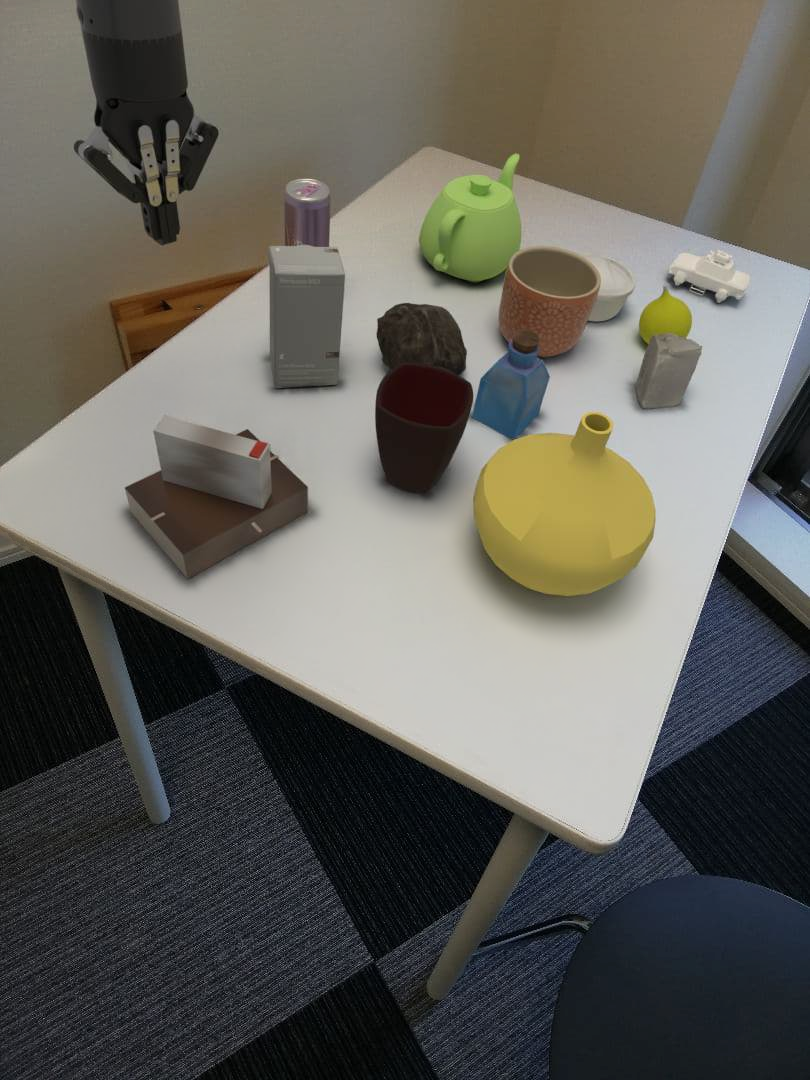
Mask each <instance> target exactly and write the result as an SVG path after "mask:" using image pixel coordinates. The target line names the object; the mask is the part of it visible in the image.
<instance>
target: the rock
mask: <svg viewBox="0 0 810 1080" xmlns="http://www.w3.org/2000/svg"><path fill="white" fill-rule="evenodd" d="M376 321H377V328H376V340H377V343H378V346H379V350H380V353H381V361H382V363H383V365H385V366H386V367H387V368H388V369H390V370H392V369H393V368H395V367H396V366H398V365H399V364H401V363H418V364H425V365H430V366H437V367H444V368H446V369H448V370H450V371H451V372H453V373H454V374H456V375H458V376H460V375H461V374H462V373H463V372H465V371H466V369H467V356H468V350H467V348H466V346H465V343H464V339H463V335H462V331H461V327H460V326H459V324H458V322H457V321H456V319H455V318H454V317H453V316H452V314H451V313H450V311H449V310H447V309H446V308H445V307H443V306H439V305H433V304H428V303H421V304H418V303H411V302H402V303H397V304H394V305H393V306H391V308H389V309H388V310H386V311H385V312H384V314H383V315H382V316H381V317H377V320H376Z"/></svg>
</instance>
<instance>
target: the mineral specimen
mask: <svg viewBox="0 0 810 1080" xmlns="http://www.w3.org/2000/svg"><path fill="white" fill-rule="evenodd" d="M702 350H703V346H702V345H700V344H699V343H697V342H696V341H694V340H693V339H691V338H689V339H688V338H687V337H686V338H681V337H679V336H677V335H675V334H673V333H668V334H664V333H662V334H661V335H652V337H651V339H650V342H649V344H648V343H647V346H646V348H645V350H644V355H643V359H642V361H641V365H640V367H639V368H640V369H639V372H638V375H637V377H636V380H635V384H634V387H635V390H636V391H635V393H636V395H637V399H638V403H639V405H640V407H641V408H642V409H646V410H647V409H649V410H650V409H658V408H660V409H663V408H665V407H667V408H668V407H677V406H679V405H680V404H681V402H682V400H683V397H684V395H685V394H686V390H687V389H688V386H689V384H690V382H691V380H692V377H693V375H694V373H695V371H696V369H697V365H698V363H699V359H700V357H701V355H702Z"/></svg>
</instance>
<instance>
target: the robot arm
mask: <svg viewBox="0 0 810 1080" xmlns="http://www.w3.org/2000/svg"><path fill="white" fill-rule="evenodd" d="M75 4H76V5H75V6H76V8H75V12H76V16H77V19H78V21H79V23H80V29H81V35H82V40H83V44H84V50H85V54H86V61H87V66H88V71H89V75H90V81H91V86H92V89H93V93H94V96H95V100H96V101H95V109H94V114H93V115H94V116H93V122H94V125H95V128H93V130H92V131H91V133H90V134H89V135H88V137H87V138H86V139H85V140H83V139H78V140H76V141H75V142H74V144H73V151H74V152H75V154H76V155H77V156H78V157H79V158H80V159H82V160H83V161H84V162H85V163H86V164H87V165H88V166H89V167H90V168H91V169H92V170H93V171H94V172H96V173H97V174H98V175H99V176H100V177H101V178H102V179H103V180H104V181H105V182H106V183H107V184H108V185H109V186H110V187H111V188H112V189H114V190H115V191H116V192H117V193H118V194H120V195H121V196H122V197H124V198H125V199H127V200H128V201H130V202H131V203H133V204H140V209H141V210H140V211H141V217H142V221H143V226H144V232H145V233H146V235H147V236H148V237H150V238H151V239H152V240H153V241H154V242H156V243H157V244H158V245H160V246H166V245H169V244H172V243H176V242H177V241H178V237H177V235H180V230H181V226H180V218H179V210H178V202H177V201H178V200H179V196H180V195H181V194H182V193H183V192H185V191H186V192H191V191H192V190H194V188H195V186H196V184H197V182H198V180H199V179H200V176H201V174H202V172H203V170H204V167H205V165H206V163H207V161H208V159H209V157H210V154H211V153H212V150H213V148H214V146H215V144H216V142H217V140H218V138H219V133H220V132H219V129H218V127H217V126H215V125H213V124H212V123H210V122H208V121H206V120H205V119H202V118H201V117H199V116H198V115H196V114H195V108H194V106H193V103H192V101H191V100H190V98H189V96H188V92H187V90H188V87H189V86H188V85H189V81H188V72H187V64H186V56H185V47H184V37H183V29H182V28H183V27H182V19H181V12H180V11H181V10H180V2H179V0H75ZM109 143H110V144H111V145H112V146H113V148H115V150H116V151H117V152H118V153H119V154H120V155H121V156H122V157H123V158H124V159H125V164H126V167H127V170H128V171H129V172H130V174H131V178H132V181H131V180H130V179H129V178H128V177H127V176H126V175H125V174H124V173H123V172H122V171H121V170H120V169H119V168H118V167H117V166H115V164H114V163H113V162H112V161H113V160H114V159H113V158H114V157H113V151H112V150H111V148H110V146H109Z"/></svg>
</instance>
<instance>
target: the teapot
mask: <svg viewBox="0 0 810 1080" xmlns="http://www.w3.org/2000/svg"><path fill="white" fill-rule="evenodd" d="M519 161H520V154H519V153H513V154H511V155H510V157H508V159H507V160H506V162H505V164H504V166H503V168H502V170H501V173H500V175H499V176H498V179H497V180H494V179H492V178H491V177H489V176H487V175H485V174H473V175H472V174H471V175H463V176H459V177H456V178H454V179H452V180H450V182H448V183H447V184H446V185H445V186H444V188H443V189H442V190H441V191H440V192H439V194H438V195H437V197H436V198H435V199H434V200H433V202H432V204H431V206H430V207H429V209H428V210H427V213H426V214H425V217H424V219H423V222H422V225H421V228H420V231H419V236H418V244H419V249H420V251H421V253H422V255H423V256H424V258H425V260H426V261H427V262H428V264H430V265H431V266H433V268H434V269H435V270H436V271H438V272H443V273H445V274H447V275H450V276H452V277H455V278H458V279H462V280H466V281H468V282H471V283H475V284H476V283H480V282H482V281H486V280H489V279H492V278H494V277H497V276H498V275H500V274H501V273H503V272H504V271H506V269H507V266H508V263H509V260H510V258H511V257H512V256H513V255H514V254H515V253H516V252H518V251H519V250H521V244H522V221H521V216H520V212H519V208H518V204H517V201H516V197H515V195H514V193H513V189H514V188H513V187H514V185H513V184H514V176H515V173H516V168H517V166H518V163H519Z"/></svg>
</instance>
